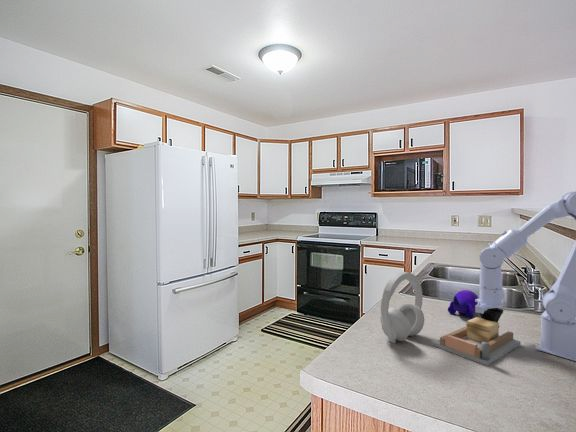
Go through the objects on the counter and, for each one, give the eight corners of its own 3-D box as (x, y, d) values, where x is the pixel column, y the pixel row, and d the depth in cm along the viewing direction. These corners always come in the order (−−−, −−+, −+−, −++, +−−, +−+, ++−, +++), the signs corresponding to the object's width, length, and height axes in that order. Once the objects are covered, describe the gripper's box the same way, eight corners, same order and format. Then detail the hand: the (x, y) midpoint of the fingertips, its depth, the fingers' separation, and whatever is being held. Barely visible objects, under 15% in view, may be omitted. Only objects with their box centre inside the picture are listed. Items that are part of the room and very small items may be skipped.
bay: (520, 344, 91) (520, 327, 91) (487, 365, 79) (487, 345, 79) (469, 329, 103) (469, 314, 102) (433, 345, 90) (433, 328, 90)
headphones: (395, 351, 87) (396, 279, 87) (371, 341, 94) (371, 274, 93) (431, 334, 99) (432, 270, 98) (407, 326, 105) (408, 266, 105)
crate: (499, 339, 92) (499, 322, 92) (489, 345, 88) (489, 327, 88) (476, 332, 97) (476, 316, 97) (466, 337, 93) (466, 321, 93)
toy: (469, 325, 110) (483, 311, 120) (468, 298, 109) (482, 286, 119) (443, 318, 116) (458, 305, 126) (442, 293, 115) (457, 282, 125)
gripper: (487, 281, 102) (486, 323, 103) (464, 288, 94) (464, 333, 95) (512, 286, 97) (511, 330, 97) (490, 293, 88) (490, 341, 89)
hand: (489, 332), depth 95 cm, fingers closed
